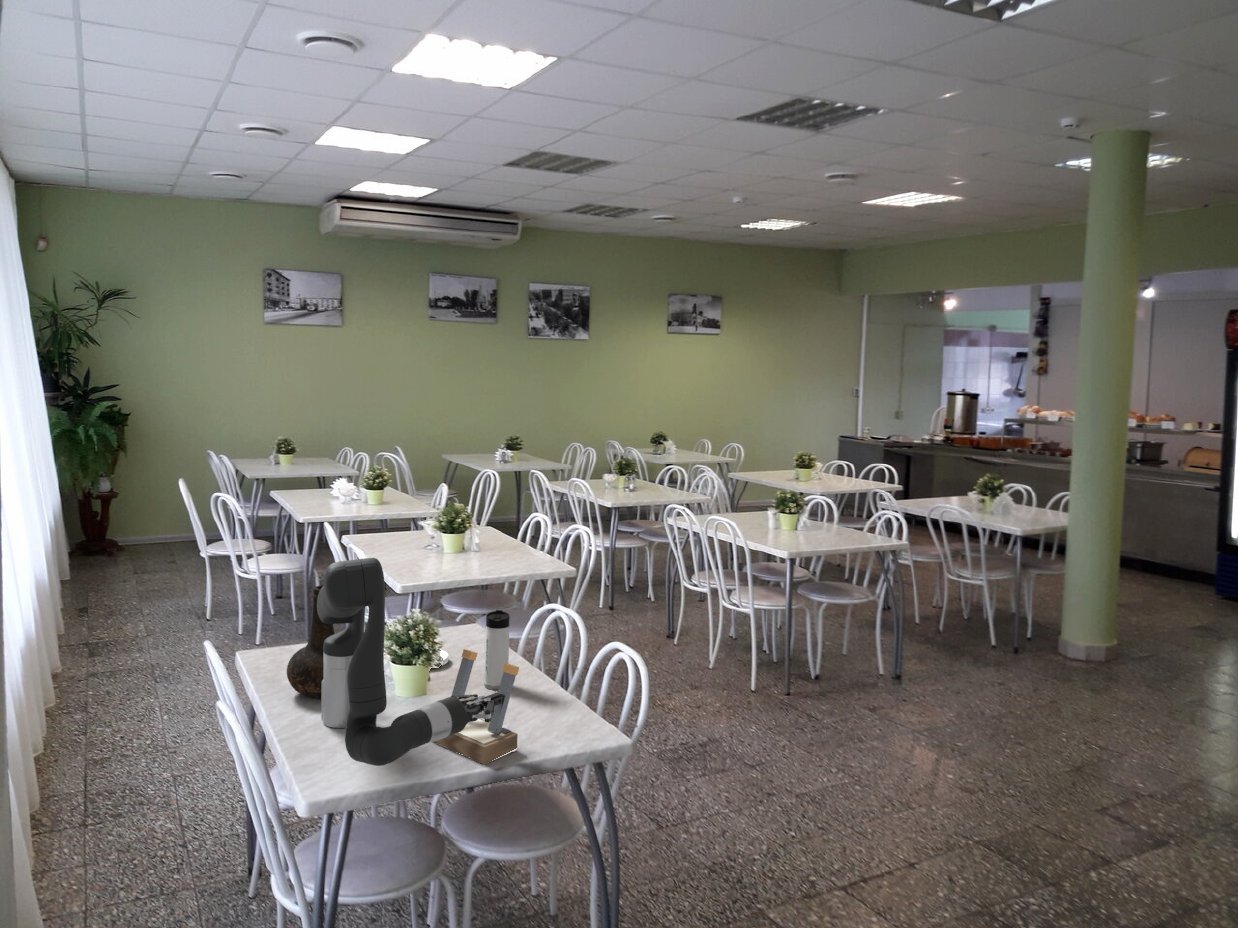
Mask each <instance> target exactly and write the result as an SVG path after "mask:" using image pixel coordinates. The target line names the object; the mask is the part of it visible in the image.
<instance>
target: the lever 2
mask: <svg viewBox="0 0 1238 928" xmlns="http://www.w3.org/2000/svg"><path fill="white" fill-rule="evenodd" d="M519 671H520V666H517V665H514V664H511V663H508V664H506V663H505V664H504V668H503V676H502V680H501V683H500V687H499V690H498V691H497V693H500V694H502V703H501V704H499V705H496V706H494V714H493V716H492V719H491V721H490V724H489V727H488V732H490V733H493V734H495V735H500V734H501V729H502V728H503V725H504V721H505V717H506V714H507V710H508V705H509V701H510V698H511V695H512V691H513V689H514V683H515V680H516V678H517V677H516V676H518V674H519Z"/></svg>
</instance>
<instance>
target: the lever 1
mask: <svg viewBox="0 0 1238 928" xmlns="http://www.w3.org/2000/svg"><path fill="white" fill-rule="evenodd" d="M461 657H462V658H461V661H460V664H459V669H458V673H457V675H456V679H455V682H454V686H453V689H452V692H451V696H455V695H466V691H467V687H468V683H469V680H470V676H471V674H472V671H473V666H474V663H475V661H477V660H476V659H477V657H478V652H476V651H473V650H470V649H462V654H461Z"/></svg>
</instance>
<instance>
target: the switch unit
mask: <svg viewBox="0 0 1238 928" xmlns="http://www.w3.org/2000/svg"><path fill="white" fill-rule="evenodd" d="M489 724H490V722H485V720H484V719H483V718H478V720H476V721H472V722H468V723H467V725H466V726H465V728H464V729H463V730H462V731H461V732H458V733H456V734H453V735H450V736H448V737H445V738H443V739H440V740H438V741H435V742H433V744H437V746H441V747H443V748H445V749H447V750H449V749H450V751H452V750H453V751H452V752H454V753H456V752H457V754H458V753H460V754H463V755H465V756H467V757H470V758H472V759H474V760H476V761H478V762H480V763H482V764H481V765H483V764H485V765H487V764H489V763H488V762H490V761H492V760H494V759H496V758H498V757H500V756H502V755H504V754H506V753H508V752H510V751H512V750H514V749H516V748H517V749H518V735H519V733H517V732H514V731H512V730H511V729H507V728H505V727H502V729H501V734H500V735H495V734H493V733H490V732H488V727H489ZM460 754H459V755H460ZM463 755H462V756H463ZM465 756H464V757H465ZM467 757H466V758H467ZM472 759H471V760H472ZM474 760H473V761H474ZM476 761H475V762H476ZM478 762H477V763H478ZM492 762H493V761H492ZM480 763H479V764H480ZM486 763H487V764H486ZM490 763H491V762H490Z"/></svg>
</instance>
